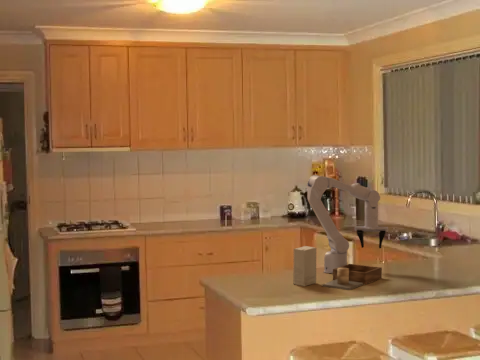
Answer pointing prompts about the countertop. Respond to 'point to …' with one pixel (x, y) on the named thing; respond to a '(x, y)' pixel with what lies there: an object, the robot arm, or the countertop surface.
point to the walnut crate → (361, 273)
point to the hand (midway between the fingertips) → (371, 247)
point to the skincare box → (304, 266)
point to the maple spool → (343, 276)
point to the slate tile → (348, 287)
